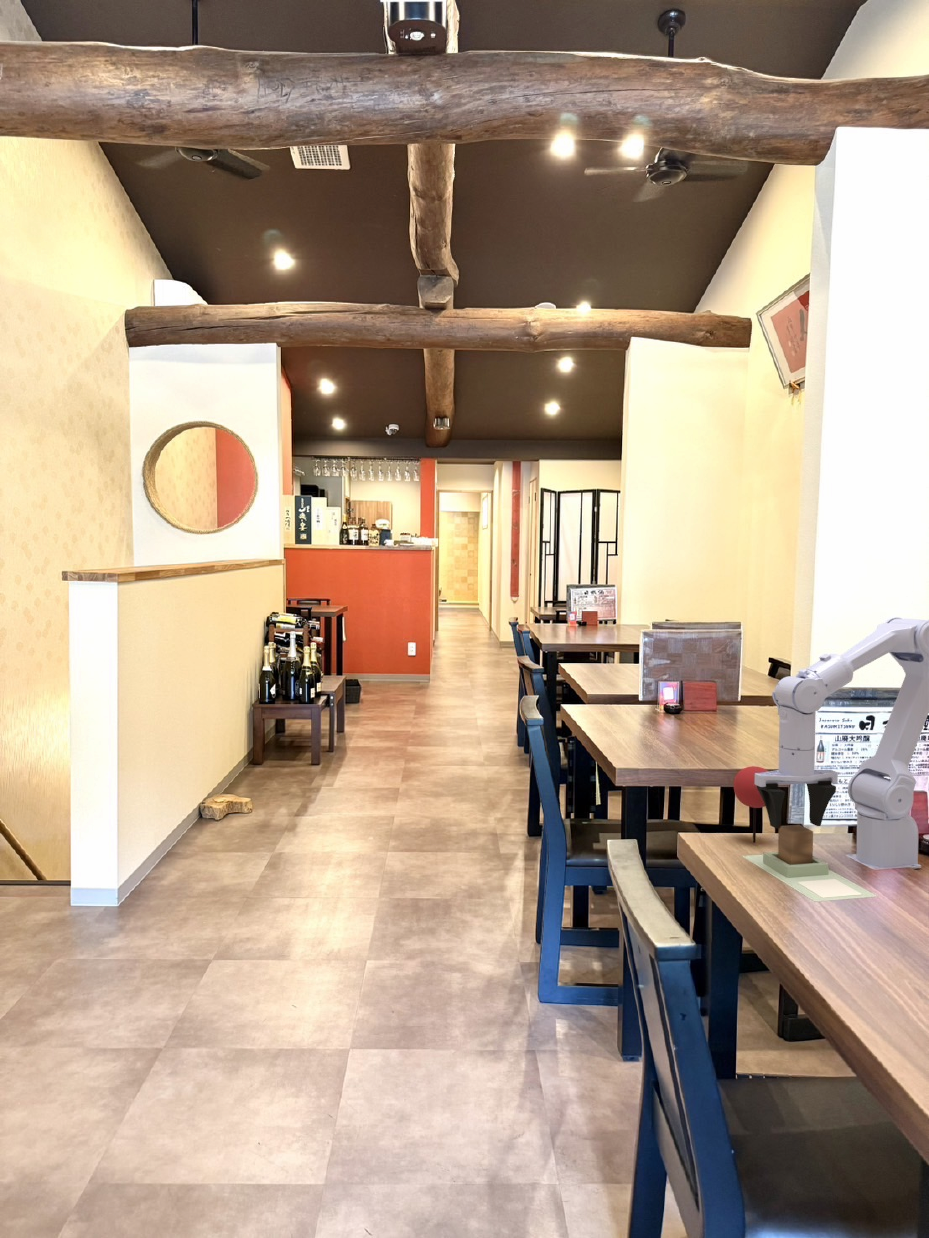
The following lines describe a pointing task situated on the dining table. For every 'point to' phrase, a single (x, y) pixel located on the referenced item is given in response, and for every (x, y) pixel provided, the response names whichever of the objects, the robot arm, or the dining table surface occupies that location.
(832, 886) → the pocket board
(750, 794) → the lollipop
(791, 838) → the walnut post
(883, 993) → the dining table surface
